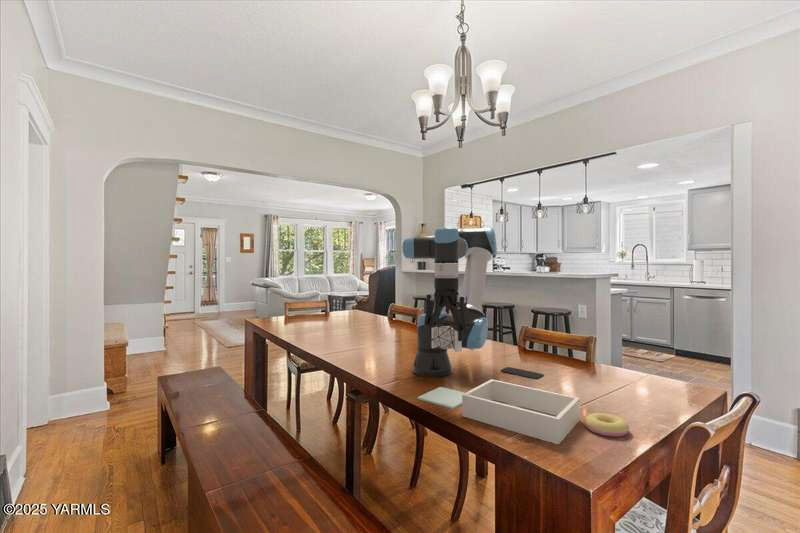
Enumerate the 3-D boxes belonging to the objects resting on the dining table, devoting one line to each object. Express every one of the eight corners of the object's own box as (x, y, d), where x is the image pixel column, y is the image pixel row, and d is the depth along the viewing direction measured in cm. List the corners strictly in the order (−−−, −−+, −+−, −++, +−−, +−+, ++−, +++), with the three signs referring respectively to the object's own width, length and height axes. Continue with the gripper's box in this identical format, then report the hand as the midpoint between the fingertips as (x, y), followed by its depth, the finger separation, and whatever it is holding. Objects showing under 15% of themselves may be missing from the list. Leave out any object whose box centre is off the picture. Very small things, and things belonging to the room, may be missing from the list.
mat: (417, 399, 119) (417, 397, 119) (440, 388, 129) (440, 386, 129) (453, 409, 110) (453, 407, 110) (474, 397, 120) (474, 395, 120)
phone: (537, 378, 138) (499, 370, 148) (536, 381, 138) (499, 372, 148) (544, 374, 144) (508, 366, 154) (544, 376, 144) (508, 368, 154)
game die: (451, 363, 118) (460, 341, 112) (425, 352, 119) (433, 330, 114) (457, 344, 125) (466, 322, 119) (433, 334, 127) (441, 312, 121)
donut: (582, 430, 102) (594, 441, 93) (578, 412, 103) (590, 421, 94) (621, 427, 100) (637, 437, 91) (617, 408, 101) (633, 417, 92)
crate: (462, 416, 106) (462, 394, 106) (491, 398, 120) (491, 379, 119) (558, 444, 89) (558, 419, 89) (579, 420, 103) (579, 398, 103)
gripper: (412, 276, 123) (412, 346, 123) (469, 278, 110) (469, 356, 110) (426, 276, 129) (426, 342, 129) (482, 277, 115) (481, 352, 116)
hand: (446, 349), depth 119 cm, fingers closed on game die, 8 cm apart
